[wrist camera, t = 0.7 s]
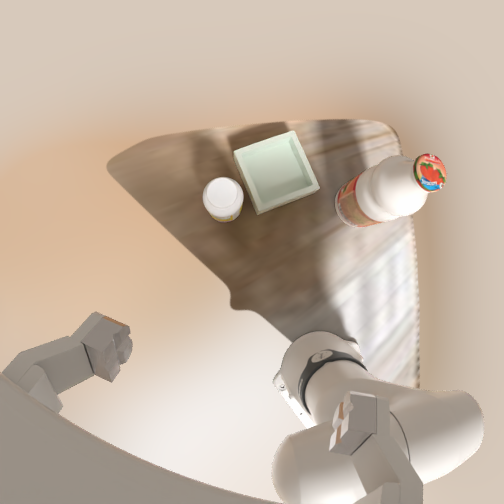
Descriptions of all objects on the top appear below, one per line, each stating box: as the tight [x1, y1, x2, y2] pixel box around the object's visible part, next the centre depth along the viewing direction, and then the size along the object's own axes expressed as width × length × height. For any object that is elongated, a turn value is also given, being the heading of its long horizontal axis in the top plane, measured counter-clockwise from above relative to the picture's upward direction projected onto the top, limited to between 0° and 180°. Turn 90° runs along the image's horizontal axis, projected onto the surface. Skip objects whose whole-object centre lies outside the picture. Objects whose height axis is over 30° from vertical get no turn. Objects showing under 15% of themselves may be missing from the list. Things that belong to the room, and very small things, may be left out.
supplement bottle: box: [203, 177, 243, 222], centre depth 54 cm, size 7×7×13 cm
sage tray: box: [234, 130, 320, 215], centre depth 59 cm, size 12×12×5 cm
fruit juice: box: [335, 154, 446, 228], centre depth 48 cm, size 9×9×28 cm
